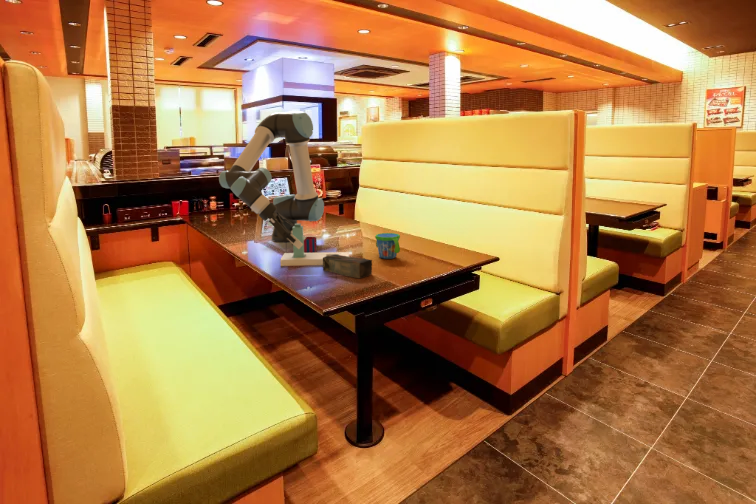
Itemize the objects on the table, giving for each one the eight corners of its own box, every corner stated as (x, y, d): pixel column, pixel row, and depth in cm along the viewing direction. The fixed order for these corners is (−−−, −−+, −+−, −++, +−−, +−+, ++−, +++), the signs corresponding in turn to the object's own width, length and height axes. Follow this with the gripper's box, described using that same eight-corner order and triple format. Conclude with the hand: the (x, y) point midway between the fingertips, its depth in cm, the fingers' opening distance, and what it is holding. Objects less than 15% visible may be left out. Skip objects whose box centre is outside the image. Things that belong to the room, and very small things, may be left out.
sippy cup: (369, 255, 216) (369, 232, 214) (390, 252, 221) (390, 231, 218) (384, 262, 202) (384, 239, 200) (406, 260, 207) (406, 236, 205)
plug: (295, 260, 204) (293, 223, 201) (304, 260, 205) (302, 223, 201) (294, 263, 200) (292, 224, 197) (303, 262, 201) (302, 224, 197)
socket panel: (284, 259, 208) (284, 253, 207) (349, 258, 210) (349, 252, 209) (280, 266, 196) (280, 259, 196) (349, 265, 198) (348, 258, 197)
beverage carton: (335, 267, 196) (335, 252, 194) (373, 275, 185) (373, 258, 183) (322, 272, 189) (321, 255, 188) (360, 279, 179) (360, 262, 177)
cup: (317, 253, 220) (316, 239, 218) (294, 254, 218) (294, 239, 217) (316, 250, 226) (316, 236, 224) (295, 251, 225) (294, 236, 223)
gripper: (263, 210, 209) (299, 243, 213) (252, 219, 185) (293, 256, 189) (274, 198, 208) (310, 231, 212) (265, 205, 184) (306, 243, 188)
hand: (302, 243), depth 201 cm, fingers open, 13 cm apart
